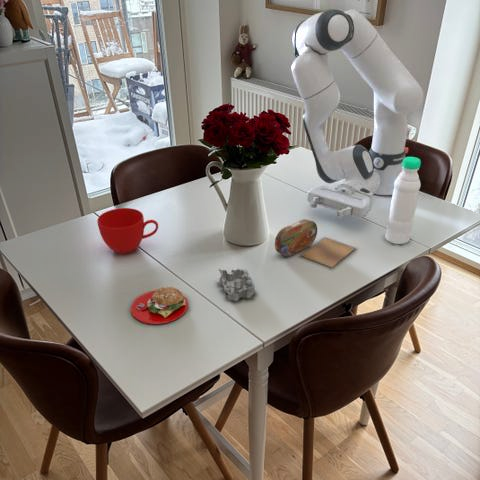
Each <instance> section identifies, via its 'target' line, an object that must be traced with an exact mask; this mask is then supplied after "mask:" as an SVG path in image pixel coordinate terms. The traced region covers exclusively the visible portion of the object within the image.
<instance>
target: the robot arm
mask: <svg viewBox="0 0 480 480" xmlns="http://www.w3.org/2000/svg"><path fill="white" fill-rule="evenodd" d="M291 39H292V40H291V41H292V42H291V43H292V48H293V54H294V57H295V59H294V60H293V61H292V64H291V68H290V69H291V75H292V78H293V81H294V84H295V86H296V90H297V91H298V94H299V96H300V98H301V100H302V102H303V105H304V106H303V107H304V113H303V114H302V123H303V128H304V131H305V134H306V138H307V140H308V143H309V146H310V149H311V153H312V156H313V158H314V162H315V168H316V173H317V175H318V177H319V178H320V179H321V180H322V181H323V182H324V183H327V184H333V183H337V182H339V181H342V180H343V181H342V182H341V183H338V184H337V185H336V186H335V188H332V187H329V186H326V185H318V186H315V187H312V188H310V189H309V190H308V191H307V192H306V193H307V195H306V200H307V202H309V208H311V209H316V208H317V207H318V206H321V207H323V208H326V209H330V210H333V211H336V217H339V218H342V217H344V216H351V217H355V218H358V219H362V218H365V217H366V216H367V215H368V214H369V213H370V212H371V210H372V207H373V200H374V195H379V196H392V195H393V191H394V188H395V187H394V183H395V180H396V179H397V177H398V176H399V174H400V173H401V172H402V171H403V168H402V162H403V159H404V158H406V154H408V152H409V147H406V142H407V137H408V130H409V125H408V120H407V116H409V115H412V114H414V113H415V112H417V111H418V110H419V109H420V108H421V106H422V104H423V102H424V91H423V88H422V87H421V85H420V84H419V82H418V81H417V80H416V78H415V77H414V76H413V75H412V74H411V72H410V71H409V70H408V69H407V67H405V65H404V64H403V63H402V62H401V60H399V58H398V57H397V56H396V55H395V54H394V53H393V51H392V50H391V49H390V47H389V46H388V45H387V43H386V42H385V40H384V39H383V38H382V37H381V34H379V32H378V31H377V29H376V28H375V26H373V24H372V23H371V22H370V21H369V20H368V18H366V17H365V16H364V15H363V14H362V13H360V12H359V11H358V10H357V9H347V10H345V11H342V10H339V9H334V8H331V9H326V10H324V11H321V12H318V13H315V14H313V15H311V16H310V17H309V18H306V19H304V20H302V21H301V22H300V23H299V24H297V26H296V27H295V28H294V31H293V32H292V37H291ZM338 50H340V51H342V53H343V55H344V56H345V57H346V59H347V60H348V61H349V62H350V64H351V65H352V67H353V68H354V69H355V70H356V71H357V73H358V75H360V77H361V78H362V79H363V80H364V81H365V82H366V84H368V86H369V87H370V88H371V89H372V91H373V122H374V123H373V133H372V141H371V147H370V148H369V150H368V149H367V148H366V147H364V146H363V145H362V144H355V145H351V146H347V147H345V148H342V149H338V150H334V151H332V150H330V149H329V145H328V142H327V139H326V136H325V134H324V129H323V127H324V123H325V122H326V121H327V120H328V119H329V118H330V117H331V116H332V115H333V114H334V113H335V111H336V110H337V109H338V107H339V104H340V102H341V92H340V88H339V86H338V84H337V81H336V80H335V77H334V75H333V73H332V71H331V70H330V66H329V61H328V53H331V52H334V51H338Z"/></svg>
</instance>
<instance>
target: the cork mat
mask: <svg viewBox="0 0 480 480" xmlns="http://www.w3.org/2000/svg"><path fill="white" fill-rule="evenodd" d="M355 250H356V248H355V247H354V246H350V245H347V244H345V243H341V242H339V241H336V240H333V239H330V238H327V237H325V238H323V239H321V241H319V242H318V243H316V244H315V245H314V246H312V247H310V249H308V250H307V251H305V252H304V253H303V254H301V257H302V258H305V259H306V260H310V261H312V262H315V263H318V264H320V265H323V266H326V267H328V268H330V269H333V268H334V267H335V266H337V265H338V264H339V263H340V262H341V261H343V260H344V259H345V258H346V257H348V255H350V254H351V253H352V252H353V251H355Z"/></svg>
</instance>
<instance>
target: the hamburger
mask: <svg viewBox="0 0 480 480" xmlns="http://www.w3.org/2000/svg"><path fill="white" fill-rule="evenodd" d="M188 308H189V301H188V299H187V298H186V296H184V295H183V292H182V291H181V290H180V289H179V288H176V287H174V286H162V287H160V288H157V289H156V290H152V291H149V292H146V293H144V294H143V293H142V294H141V295H139V296H138V297H137V298H136V299H135V300H133V302H132V304H131V306H130V312H131V315H132V317H134V318H135V319H136V320H138V321H140V322H142V323H145V324H151V325H161V324H166V323H170V322H173V321H175V320H177V319H179V318H180V317H182V316H184V314H185V313H186V312H187V310H188Z"/></svg>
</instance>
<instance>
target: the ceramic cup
mask: <svg viewBox="0 0 480 480" xmlns="http://www.w3.org/2000/svg"><path fill="white" fill-rule="evenodd" d="M144 219H145V217H144V213H143V212H142V211H140V210H138V209H136V208H131V207H130V208H129V207H120V208H119V207H118V208H114V209H110V210H107V211H105V212H103V213H102V214H100V215H99V216H98V218H97V219H96V220H97V221H96V223H97V227H98V231H99V233H100V236H101V239H102V241H103V242H104V244H106V246H107V247H108V248H109V249H111V250H112V251H113V252H115V253H116V254H120V255H126V254H130V253H133V252H134V251H136V250H137V248H138V247H139V245H140V244H141V243H142V240H143V239H147V238H149V237H152V236H153V235H155V234H156V233H157V232H158V229H159V222H157V221H156V220H155V219H148V220H146V221H145V220H144ZM148 224H153V225H155V228H154V230H153V231H151V232H150V233H147V234H145V227H146V226H147V225H148Z"/></svg>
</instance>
